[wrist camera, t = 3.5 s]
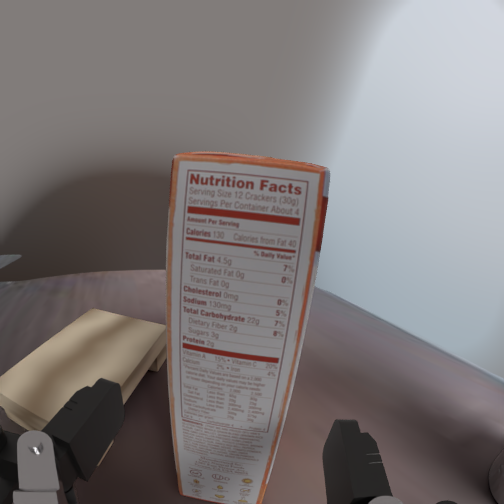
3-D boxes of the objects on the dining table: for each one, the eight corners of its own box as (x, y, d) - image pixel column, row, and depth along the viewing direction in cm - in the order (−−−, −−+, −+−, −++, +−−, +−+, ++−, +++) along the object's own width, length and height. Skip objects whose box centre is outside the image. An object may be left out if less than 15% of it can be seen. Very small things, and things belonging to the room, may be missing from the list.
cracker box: (213, 386, 28) (233, 168, 23) (272, 396, 28) (308, 177, 23) (171, 496, 14) (167, 143, 10) (260, 513, 14) (341, 161, 9)
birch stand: (168, 355, 32) (167, 325, 31) (95, 470, 15) (82, 438, 14) (95, 336, 33) (92, 308, 32) (5, 420, 15) (-11, 385, 14)
